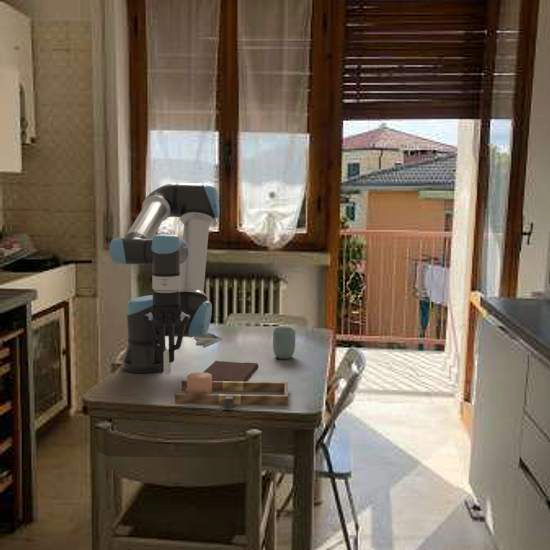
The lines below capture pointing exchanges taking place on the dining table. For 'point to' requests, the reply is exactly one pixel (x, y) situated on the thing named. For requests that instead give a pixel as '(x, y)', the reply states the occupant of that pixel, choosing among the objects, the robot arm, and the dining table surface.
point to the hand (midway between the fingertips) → (167, 373)
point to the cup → (283, 342)
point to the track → (237, 398)
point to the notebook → (231, 371)
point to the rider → (199, 383)
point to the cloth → (207, 340)
